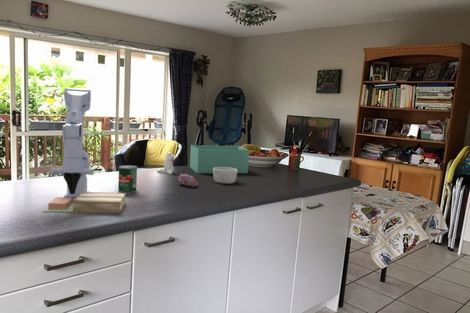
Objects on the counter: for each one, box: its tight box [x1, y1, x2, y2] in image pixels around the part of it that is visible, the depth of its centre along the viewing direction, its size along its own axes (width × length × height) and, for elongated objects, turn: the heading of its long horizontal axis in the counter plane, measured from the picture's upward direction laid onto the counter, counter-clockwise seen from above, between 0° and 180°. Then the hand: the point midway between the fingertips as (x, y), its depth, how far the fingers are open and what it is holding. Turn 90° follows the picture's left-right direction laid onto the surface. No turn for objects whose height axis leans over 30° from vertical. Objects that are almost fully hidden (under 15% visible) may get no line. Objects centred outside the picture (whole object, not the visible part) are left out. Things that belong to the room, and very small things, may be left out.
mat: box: [42, 203, 74, 213], centre depth 142 cm, size 15×10×1 cm, turn 8°
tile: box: [47, 196, 74, 209], centre depth 142 cm, size 9×6×2 cm, turn 8°
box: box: [189, 144, 250, 174], centre depth 242 cm, size 21×32×14 cm, turn 109°
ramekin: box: [212, 167, 238, 184], centre depth 207 cm, size 13×13×7 cm
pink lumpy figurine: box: [177, 173, 199, 187], centre depth 191 cm, size 10×5×7 cm, turn 59°
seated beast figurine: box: [156, 151, 176, 175], centre depth 223 cm, size 10×9×12 cm
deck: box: [72, 191, 126, 214], centre depth 144 cm, size 14×16×4 cm
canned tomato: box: [117, 164, 138, 194], centre depth 172 cm, size 8×8×11 cm
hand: (72, 193), depth 142 cm, fingers closed
